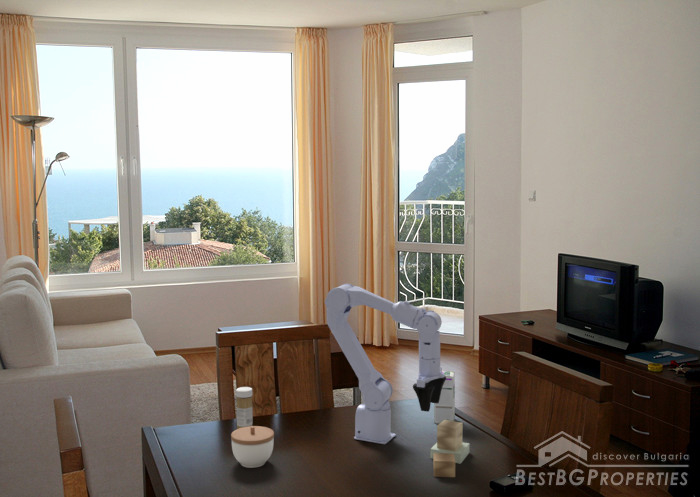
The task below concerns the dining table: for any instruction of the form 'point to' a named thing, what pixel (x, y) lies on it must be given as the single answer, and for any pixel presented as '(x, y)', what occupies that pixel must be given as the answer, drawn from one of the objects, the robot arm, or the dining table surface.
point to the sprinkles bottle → (244, 407)
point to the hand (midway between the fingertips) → (430, 406)
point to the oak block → (443, 465)
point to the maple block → (449, 435)
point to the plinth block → (453, 452)
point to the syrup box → (446, 400)
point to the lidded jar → (252, 445)
